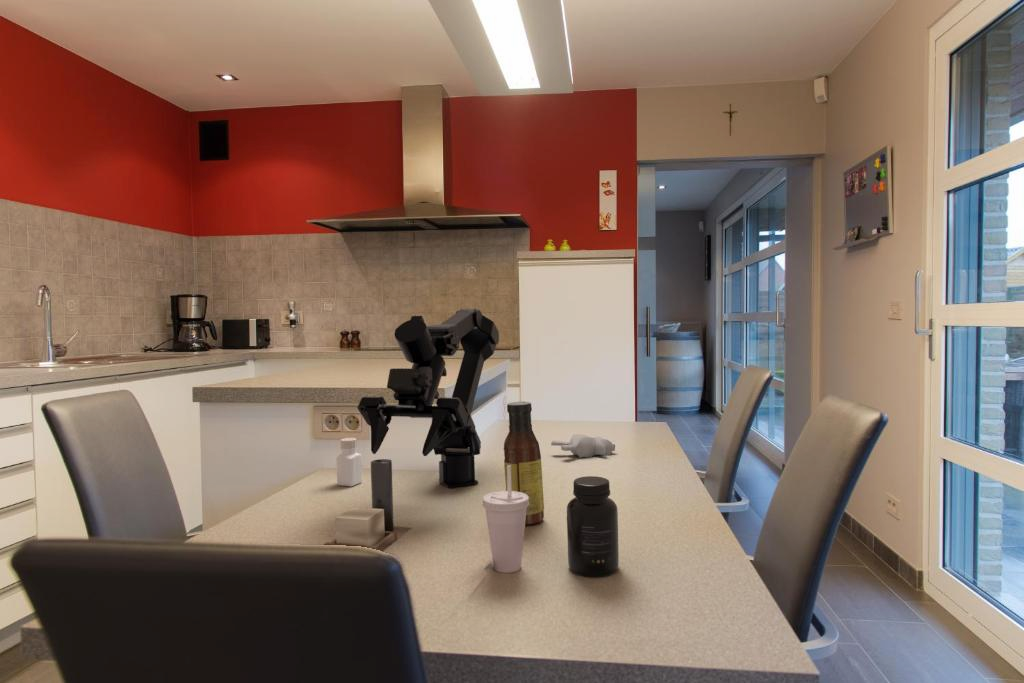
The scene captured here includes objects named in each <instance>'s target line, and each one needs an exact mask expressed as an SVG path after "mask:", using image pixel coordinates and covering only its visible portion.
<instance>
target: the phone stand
mask: <svg viewBox="0 0 1024 683" xmlns="http://www.w3.org/2000/svg"><path fill="white" fill-rule="evenodd" d="M392 467H393V462H392V459H389V458H388V459H387V458H385V459H384V458H382V459H375V460H371V461H370V481H371V482H370V483H371V508H375V509H384V527H385V538H384V539H383V540H381V541H380V542H379V543H377V544H376V545H375V546H364V545H353V544H341V543H337V542H336V538H334V539H333V540H331V541H329V542H325V543H323V546H324V545H346V546H361V547H367V548H372V549H376V550H380V551H383V552H384V551H385V550H386V549H387V548H389V547H390V546H392V545H393V544H394V543H395V542H397V541H398V540H399V539H401V538H402V537H403V536H405V535H406V533H408V532H410V531H411V530H412V529H413V527H409V526H407V527H406V526H395V525H394V522H395V521H394V496H393V492H394V490H393V489H394V488H393V468H392Z"/></svg>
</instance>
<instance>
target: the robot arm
mask: <svg viewBox="0 0 1024 683" xmlns="http://www.w3.org/2000/svg"><path fill="white" fill-rule="evenodd" d="M455 312H456V313H455V314H453V315H451V316H450V317H448V318H447V319H446V320H444V321H443V322H442V323H440V324H430V325H429V324H428V325H427V324H426V323H425V319H424V317H423V315H411V317H410V319H409V320H407V321H406V320H405V321H403V323H401V324H400V325H399V326H398V327H396V328H395V330H394V338H395V340H396V342H397V344H398V345H399V348H400V350H401V352H402V354H403V357H404V359H405V360H406V361H407V362H409V363H411V364H412V366H411V368H402V367H401V368H389V372H388V378H387V384H386V388H387V389H390V390H391V391H393V392H394V393H393V398H394V400H395V401H398V403H396V404H394V403H387V402H386V400H385V398H384V397H383V396H367V395H366V396H363V397H361V399H360V400H359V402H358V404H357V406H356V408H357V410H358V412H359V414H361V417H362V418H363V419H364V421H365V422H366V425H368V426H370V451H371V452H372V454H373V455H376V454H377V452H378V451H379V449H380V448H381V446H382V444H383V442H384V440H385V438H386V436H387V434H388V431H389V430H390V428H389V426H388V425H390V424H391V421H392V417H401V418H403V417H404V418H406V417H407V418H408V417H409V418H411V419H431V424H430V427H429V430H428V431H427V432H428V433H427V435H426V438H425V441H424V443H423V448H422V452H421V453H422V455H423V457H427V456H428V455H429V454H430V453H431V452H432V451H433V452H434V455H435V456H437V455H440V460H439V461H438V475H439V478H438V482H440V483H441V484H442V485H444V486H446V487H447V488H451V489H452V488H457V487H463V486H470V485H476V484H479V480H477V479H476V474H475V473H476V471H475V470H476V469H475V468H476V466H475V456H477V455H481V448H482V444H481V442H482V441H481V439H480V437H479V434H478V432H477V430H476V425H475V421H474V420H473V417H472V411H473V407H474V403H475V399H476V395H477V391H478V387H479V385H480V384H479V383H480V379H481V375H482V371H483V368H484V364H485V362H486V361H487V360H488V359H489V358H490V357H491V356H493V355H494V352H495V350H496V348H497V345H498V344H499V341H500V333H499V330H498V328H497V326H496V324H495V322H494V321H493V320H492V319H490V318H488V317H487V316H485V315H483V313H482V311H481V310H480V309H477V308H461V309H459V310H456V311H455ZM460 345H461V347H462V348H461V349H463V356H462V360H461V364H460V368H459V371H458V374H457V378H456V380H455V385H454V387H453V392H452V396H451V397H443V396H442V397H439V396H440V393H439V392H438V389H439V386H440V383H441V380H442V377H447V373H448V372H447V369H446V361H445V359H444V357H452V356H454V355H455V354H456V352H457V351H458V350H459V348H460ZM435 400H436V403H435V404H436V405H434V401H435Z"/></svg>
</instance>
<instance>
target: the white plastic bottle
mask: <svg viewBox="0 0 1024 683" xmlns="http://www.w3.org/2000/svg"><path fill="white" fill-rule="evenodd" d="M357 447H358V445H357V438H356V437H345V438H342V439H341V438H340V449H341V453H340V454H339V455H337V456H336V482H337V485H338V486H343V487H353V486H356V485H358V484H361V483H362V482H363V459H362V458H363V456H362V454H361V453H358V452H357Z"/></svg>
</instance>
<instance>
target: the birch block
mask: <svg viewBox="0 0 1024 683" xmlns="http://www.w3.org/2000/svg"><path fill="white" fill-rule="evenodd" d="M335 534H336V536H335V539H336V542H337V543H341V544H353V545H364V546H375V545H376V544H377V543H379V542H380V541H381V540H383V539H384V538H385V527H384V509H375V508H372V507H356V506H354V507H352V508H350V509H348V510H346V511H345V512H343V513H341V514H339V515H338V516H335Z"/></svg>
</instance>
